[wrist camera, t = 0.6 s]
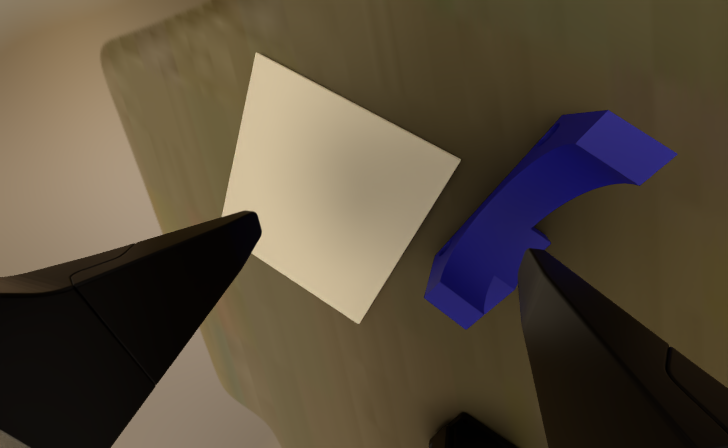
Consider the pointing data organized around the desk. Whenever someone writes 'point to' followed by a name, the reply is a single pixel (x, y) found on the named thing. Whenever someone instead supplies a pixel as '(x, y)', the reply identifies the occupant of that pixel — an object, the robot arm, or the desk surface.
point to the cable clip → (535, 207)
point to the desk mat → (330, 186)
